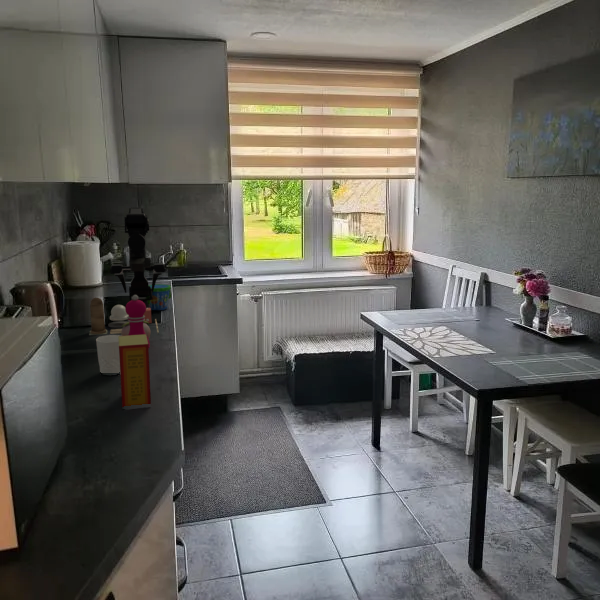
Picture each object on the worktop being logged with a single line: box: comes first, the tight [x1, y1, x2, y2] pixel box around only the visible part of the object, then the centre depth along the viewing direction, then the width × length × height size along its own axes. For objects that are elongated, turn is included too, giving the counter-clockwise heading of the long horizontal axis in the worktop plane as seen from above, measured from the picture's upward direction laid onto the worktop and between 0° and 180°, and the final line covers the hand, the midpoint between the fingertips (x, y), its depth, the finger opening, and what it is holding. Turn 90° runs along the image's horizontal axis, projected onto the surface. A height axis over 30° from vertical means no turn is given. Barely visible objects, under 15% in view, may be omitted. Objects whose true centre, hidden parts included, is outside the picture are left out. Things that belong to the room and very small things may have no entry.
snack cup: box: [148, 283, 172, 311], centre depth 234 cm, size 16×10×10 cm
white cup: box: [95, 334, 122, 373], centre depth 152 cm, size 8×8×10 cm
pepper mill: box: [124, 295, 151, 349], centre depth 163 cm, size 7×7×20 cm
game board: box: [88, 318, 160, 336], centre depth 199 cm, size 20×25×2 cm
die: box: [144, 307, 153, 324], centre depth 206 cm, size 5×5×5 cm
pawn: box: [89, 297, 107, 335], centre depth 190 cm, size 5×5×12 cm
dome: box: [109, 304, 129, 322], centre depth 201 cm, size 7×7×6 cm
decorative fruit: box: [120, 321, 151, 339], centre depth 175 cm, size 9×8×10 cm
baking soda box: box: [118, 334, 152, 408], centre depth 131 cm, size 10×6×16 cm
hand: (139, 292), depth 195 cm, fingers open, 9 cm apart
